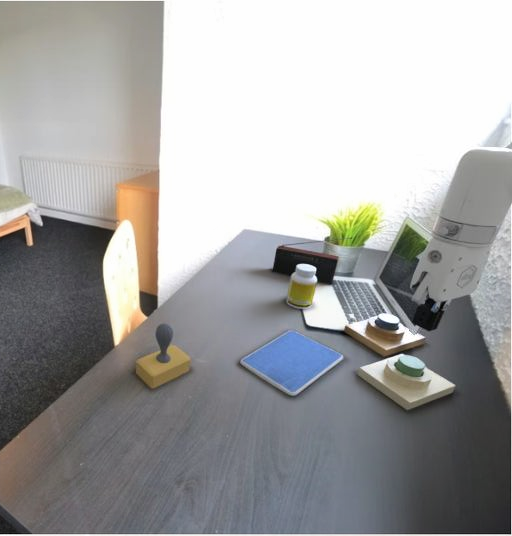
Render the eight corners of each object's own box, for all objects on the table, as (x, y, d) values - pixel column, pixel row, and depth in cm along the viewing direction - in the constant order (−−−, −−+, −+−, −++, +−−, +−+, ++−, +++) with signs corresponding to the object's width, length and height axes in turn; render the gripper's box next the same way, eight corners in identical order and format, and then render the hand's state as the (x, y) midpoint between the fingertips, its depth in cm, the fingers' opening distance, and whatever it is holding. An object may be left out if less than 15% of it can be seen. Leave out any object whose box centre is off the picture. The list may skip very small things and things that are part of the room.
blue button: (384, 319, 87) (386, 311, 86) (401, 328, 83) (404, 320, 82) (371, 323, 86) (373, 315, 85) (388, 332, 82) (391, 324, 81)
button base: (380, 322, 92) (384, 308, 90) (422, 345, 83) (428, 330, 82) (343, 332, 89) (347, 318, 87) (383, 358, 80) (388, 343, 78)
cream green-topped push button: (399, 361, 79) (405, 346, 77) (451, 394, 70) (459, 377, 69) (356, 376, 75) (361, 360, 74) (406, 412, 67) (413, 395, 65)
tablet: (290, 332, 89) (291, 327, 89) (344, 359, 80) (346, 355, 79) (237, 364, 79) (238, 359, 79) (293, 400, 70) (294, 395, 69)
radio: (271, 273, 117) (279, 228, 111) (274, 269, 120) (282, 225, 113) (338, 288, 108) (351, 240, 101) (340, 284, 110) (352, 236, 103)
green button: (405, 361, 74) (408, 352, 73) (426, 374, 70) (430, 365, 69) (390, 366, 72) (393, 357, 72) (411, 379, 69) (415, 371, 68)
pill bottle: (315, 310, 98) (324, 272, 93) (291, 310, 98) (299, 273, 93) (304, 298, 103) (312, 262, 98) (282, 298, 103) (289, 262, 99)
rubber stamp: (172, 356, 82) (174, 310, 77) (190, 371, 78) (194, 323, 73) (135, 373, 78) (135, 325, 73) (151, 390, 73) (153, 340, 68)
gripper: (459, 244, 54) (415, 347, 62) (523, 231, 58) (474, 329, 66) (406, 228, 60) (373, 323, 68) (468, 217, 64) (430, 308, 72)
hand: (423, 326), depth 67 cm, fingers closed
